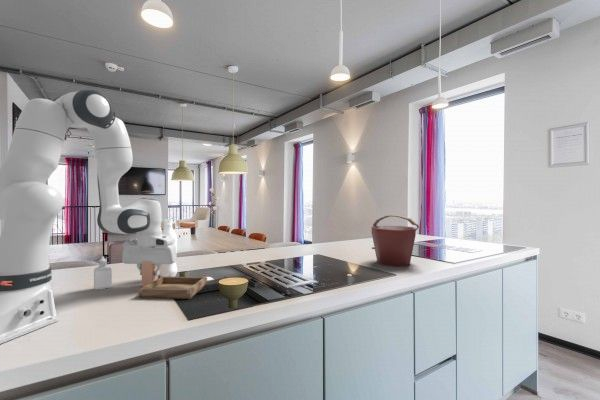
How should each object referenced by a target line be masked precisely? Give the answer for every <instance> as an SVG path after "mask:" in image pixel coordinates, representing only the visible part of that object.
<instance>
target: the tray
mask: <svg viewBox="0 0 600 400" xmlns="http://www.w3.org/2000/svg"><path fill="white" fill-rule="evenodd" d="M207 286H208V277H207V276H202V277H201V276H175V277H159V278H157V280H155V281H153V282H152V283H150V284H148V285H146V286H144V287H142V286H141V287H140V288H139V289H138V298H139V299H170V300H171V299H177V300H179V299H180V300H181V299H182V300H186V299H188V300H189V299H191V300H192V298H193V297H194V296H196V295H197V294H198V293H199V292H201V291H202V290H203V289H204V288H206V287H207Z"/></svg>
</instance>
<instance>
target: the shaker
mask: <svg viewBox="0 0 600 400" xmlns="http://www.w3.org/2000/svg"><path fill="white" fill-rule="evenodd" d="M156 269H157V267H156V264H152V261H142V275H141V288H142V287H144V286H146V285H148V284H150V283H152V282H153V281H155V280H157V279H158V275H154V271H155V270H156Z"/></svg>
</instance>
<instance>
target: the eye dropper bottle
mask: <svg viewBox="0 0 600 400" xmlns="http://www.w3.org/2000/svg"><path fill="white" fill-rule="evenodd" d="M112 277H113V273H112V266H110V265H108V262H107V259H106V258H105V256H101V258H100V260H98V266H97V267H95V268H94V270H93V289H94V290H95V291H98V290H99V291H100V290H105V289H106V288H107V289H109V288H112V286H113V278H112Z"/></svg>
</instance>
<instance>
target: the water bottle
mask: <svg viewBox="0 0 600 400" xmlns="http://www.w3.org/2000/svg"><path fill="white" fill-rule="evenodd" d="M173 225H174V224H173V220H172V218H170V219H169V218H167V219H164V220H163V230H162V234H163V235H166V236H169V237H172V238H174V243H173V244H174V245H175V247H176V254H177V252H178V236H177V233H176V232H175V231H174V227H173ZM177 274H178V266H177V261H176V262H175V263H173V264H162V267H161V269H160V270H159V275H158V276H159V278H161V277H177Z"/></svg>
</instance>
